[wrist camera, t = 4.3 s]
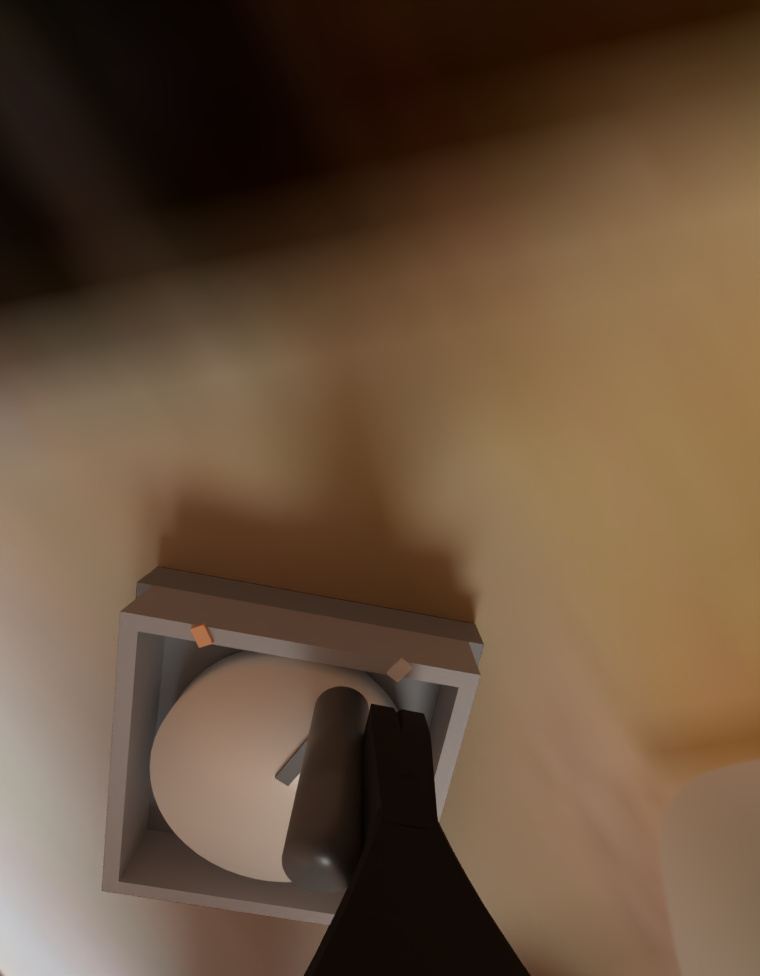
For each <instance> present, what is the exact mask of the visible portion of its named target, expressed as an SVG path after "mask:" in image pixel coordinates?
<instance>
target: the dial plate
mask: <svg viewBox="0 0 760 976" xmlns="http://www.w3.org/2000/svg"><path fill="white" fill-rule="evenodd" d="M483 646H484V644H483V641H482V639H481V637H480V634H479V632H478V629H477V627H476V625H475V624H471V623H466V622H460V621H455V620H449V619H444V618H438V617H433V616H427V615H422V614H416V613H411V612H405V611H400V610H394V609H389V608H383V607H378V606H372V605H367V604H361V603H356V602H350V601H345V600H339V599H333V598H328V597H322V596H317V595H311V594H306V593H300V592H295V591H289V590H284V589H278V588H273V587H267V586H262V585H256V584H251V583H245V582H240V581H234V580H229V579H223V578H218V577H212V576H207V575H201V574H196V573H190V572H184V571H179V570H173V569H168V568H162V567H157V568H156V569H154V570H153V571H152V572H150V573H149V574H147V575H146V576H145V577H143V578H142V579H141V580H139V581H138V582H137V588H136V599H135V600H134V601H133V602H132V603H130V604H129V605H128V606H127V607H125V608H124V609H123V610H122V611H120V624H119V639H118V654H117V669H116V684H115V700H114V715H113V730H112V745H111V760H110V775H109V790H108V805H107V820H106V835H105V850H104V865H103V880H102V891H105V892H112V893H118V894H125V895H132V896H138V897H145V898H151V899H158V900H165V901H171V902H178V903H184V904H191V905H198V906H204V907H211V908H217V909H224V910H231V911H237V912H244V913H251V914H257V915H264V916H270V917H277V918H284V919H290V920H297V921H303V922H310V923H317V924H323V925H330V923H331V921H332V919H333V917H334V915H335V913H336V911H337V909H338V907H339V905H340V903H341V900H342V898H343V896H344V894H345V892H346V889H347V888H345V889H343V890H340V891H337V892H332V893H315V892H310V891H307V890H304V889H302V888H300V887H298V886H297V885H295V884H294V883H293V882H273V881H265V880H259V879H254V878H250V877H246V876H242V875H239V874H236V873H233V872H231V871H228V870H225V869H223V868H221V867H219V866H217V865H215V864H213V863H211V862H209V861H208V860H206V859H205V858H203V857H202V856H200V855H198V854H197V853H196V852H195V851H193V850H192V849H191V848H190V847H188V846H187V845H186V844H185V843H184V842H183V841H182V840H181V839H180V838H179V837H178V836H177V835H176V834H175V833H174V831H173V830H172V829H171V827H170V826H169V825H168V823H167V822H166V820H165V819H164V817H163V815H162V813H161V811H160V810H159V808H158V805H157V802H156V800H155V797H154V794H153V790H152V786H151V781H150V757H151V750H152V746H153V743H154V739H155V737H156V734H157V732H158V730H159V727H160V725H161V724H162V722H163V721H164V719H165V718H166V716H167V714H168V713H169V711H170V710H171V709H172V707H173V706H174V704H175V703H176V701H177V700H178V698H179V697H180V695H181V694H182V693H183V691H184V690H185V688H186V687H187V686H188V685H189V684H190V683H191V682H192V680H193V679H194V678H195V677H197V676H198V675H199V674H200V673H201V672H203V671H204V670H205V669H206V668H208V667H209V666H211V665H213V664H214V663H216V662H217V661H219V660H221V659H223V658H226V657H228V656H230V655H232V654H235V653H238V652H241V651H245V650H248V651H254V652H259V653H265V654H271V655H276V656H282V657H288V658H293V659H299V660H305V661H311V662H316V663H322V664H328V665H333V666H339V667H345V668H351V669H356V670H362V671H363V672H365V673H366V674H367V675H369V676H370V677H371V678H372V679H373V680H374V681H375V682H376V683H377V684H378V685H379V686H380V687H382V688H383V690H384V691H385V692H386V693H387V695H388V696H389V697H390V699H391V700H392V701H393V703H394V705H395V707H396V708H397V710H398V711H399V710H401V709H403V710H409V711H414V712H419V713H424V715H425V718H426V721H427V724H428V728H429V732H430V736H431V745H432V756H433V768H434V781H435V793H436V805H437V816H438V822H439V821H440V818H441V814H442V811H443V807H444V804H445V800H446V796H447V793H448V789H449V786H450V782H451V779H452V775H453V772H454V768H455V764H456V761H457V757H458V754H459V750H460V747H461V743H462V740H463V736H464V732H465V729H466V725H467V722H468V718H469V715H470V711H471V708H472V704H473V700H474V697H475V693H476V690H477V686H478V683H479V679H480V676H481V675H480V672H479V669H478V664H479V660H480V657H481V653H482V649H483Z"/></svg>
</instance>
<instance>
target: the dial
mask: <svg viewBox="0 0 760 976" xmlns="http://www.w3.org/2000/svg"><path fill="white" fill-rule="evenodd" d="M371 704H377V705H382V706H387V707H393V708H394V709H395V710H396V712H398V710H397V708H396V707H395V705H394V703H393V701H392V700H391V699H390V697H389V696H388V695H387V693H386V692H385V691H384V690H383V688H382V687H380V686H379V685H378V684H377V683H376V682H375V681H374V680H373V679H372V678H371V677H370V676H369V675H367V674H366V673H365V672H363V671H362V670H356V669H351V668H345V667H339V666H333V665H328V664H322V663H316V662H311V661H305V660H299V659H293V658H288V657H282V656H276V655H271V654H265V653H259V652H254V651H248V650H245V651H241V652H238V653H235V654H232V655H230V656H228V657H226V658H223V659H221V660H219V661H217V662H216V663H214V664H213V665H211V666H209V667H208V668H206V669H205V670H204V671H203V672H201V673H200V674H199V675H198V676H197V677H195V678H194V679H193V680H192V682H191V683H190V684H189V685H188V686H187V687H186V688H185V690H184V691H183V693H182V694H181V695H180V697H179V698H178V700H177V701H176V703H175V704H174V706H173V707H172V709H171V710H170V711H169V713H168V714H167V716H166V718H165V719H164V721H163V722H162V724H161V725H160V727H159V730H158V732H157V734H156V737H155V739H154V743H153V746H152V750H151V757H150V781H151V786H152V790H153V794H154V797H155V800H156V802H157V805H158V808H159V810H160V811H161V813H162V815H163V817H164V819H165V820H166V822H167V823H168V825H169V826H170V827H171V829H172V830H173V831H174V833H175V834H176V835H177V836H178V837H179V838H180V839H181V840H182V841H183V842H184V843H185V844H186V845H187V846H188V847H190V848H191V849H192V850H193V851H195V852H196V853H197V854H198V855H200V856H202V857H203V858H205V859H206V860H208V861H209V862H211V863H213V864H215V865H217V866H219V867H221V868H223V869H225V870H228V871H231V872H233V873H236V874H239V875H242V876H246V877H250V878H254V879H259V880H265V881H273V882H293V883H294V884H295V885H297V886H298V887H300V888H302V889H304V890H307V891H310V892H315V893H332V892H337V891H340V890H343V889H345V888H347V887H348V885H349V883H350V880H351V878H352V876H353V873H354V871H355V869H356V866H357V864H358V862H359V859H360V857H361V854H362V756H363V740H364V731H365V727H366V723H367V718H368V714H369V710H370V705H371Z"/></svg>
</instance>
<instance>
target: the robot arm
mask: <svg viewBox="0 0 760 976" xmlns="http://www.w3.org/2000/svg"><path fill="white" fill-rule="evenodd" d="M304 976H531V975H530V974H529V973H528V971H527V970H526V968H525V967H524V966H523V964H522V963H521V961H520V960H519V958H518V957H517V955H516V954H515V952H514V950H513V949H512V947H511V946H510V944H509V943H508V941H507V940H506V938H505V937H504V935H503V934H502V932H501V931H500V929H499V927H498V926H497V924H496V923H495V921H494V920H493V918H492V917H491V915H490V914H489V912H488V911H487V909H486V907H485V906H484V904H483V903H482V901H481V899H480V898H479V896H478V894H477V892H476V891H475V889H474V887H473V886H472V884H471V882H470V880H469V879H468V877H467V875H466V874H465V872H464V870H463V868H462V866H461V864H460V863H459V861H458V859H457V857H456V855H455V853H454V852H453V850H452V848H451V846H450V844H449V842H448V840H447V838H446V836H445V834H444V832H443V830H442V828H441V826H440V824H439V822H438V816H437V805H436V793H435V781H434V768H433V756H432V745H431V736H430V732H429V728H428V724H427V721H426V718H425V715H424V713H419V712H414V711H409V710H403V709H401V710H399V711H398V712H396V710H395V709H394V708H393V707H387V706H382V705H377V704H371V705H370V710H369V714H368V718H367V723H366V727H365V731H364V740H363V756H362V854H361V857H360V859H359V862H358V864H357V866H356V869H355V871H354V873H353V876H352V878H351V880H350V883H349V885H348V887H347V889H346V892H345V894H344V896H343V898H342V900H341V903H340V905H339V907H338V909H337V911H336V913H335V915H334V917H333V919H332V921H331V923H330V925H329V927H328V929H327V931H326V933H325V935H324V937H323V940H322V942H321V944H320V946H319V948H318V950H317V952H316V954H315V955H314V957H313V959H312V961H311V963H310V965H309V967H308V969H307V970H306V972H305V974H304Z"/></svg>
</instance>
